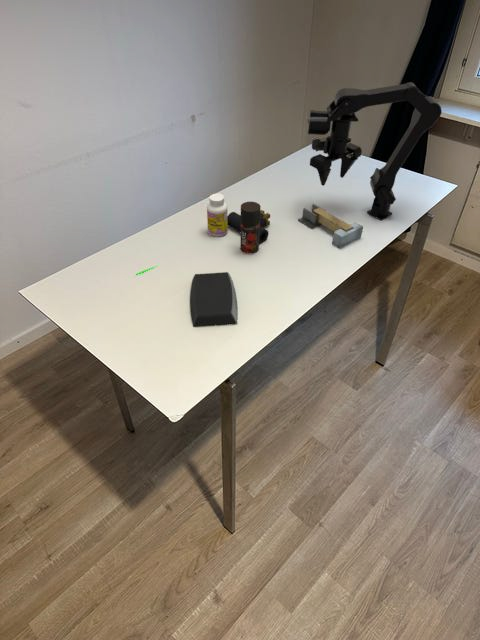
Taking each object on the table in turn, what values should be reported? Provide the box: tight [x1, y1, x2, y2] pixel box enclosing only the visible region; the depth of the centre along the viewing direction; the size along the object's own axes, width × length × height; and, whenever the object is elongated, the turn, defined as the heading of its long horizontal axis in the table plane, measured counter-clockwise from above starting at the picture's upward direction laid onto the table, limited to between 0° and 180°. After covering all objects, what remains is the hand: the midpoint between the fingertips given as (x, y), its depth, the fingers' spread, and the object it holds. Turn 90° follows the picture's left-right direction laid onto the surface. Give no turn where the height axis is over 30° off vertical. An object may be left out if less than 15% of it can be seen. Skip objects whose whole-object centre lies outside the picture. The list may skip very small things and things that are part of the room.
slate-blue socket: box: [331, 221, 364, 250], centre depth 143 cm, size 10×4×4 cm, turn 128°
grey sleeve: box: [297, 203, 326, 230], centre depth 152 cm, size 8×7×4 cm
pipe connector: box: [227, 209, 271, 245], centre depth 148 cm, size 12×5×15 cm
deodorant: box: [239, 201, 261, 255], centre depth 137 cm, size 6×6×15 cm
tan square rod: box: [313, 207, 353, 233], centre depth 147 cm, size 3×15×3 cm, turn 38°
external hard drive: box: [189, 271, 239, 328], centre depth 123 cm, size 13×19×4 cm
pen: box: [136, 265, 158, 276], centre depth 133 cm, size 1×14×1 cm, turn 128°
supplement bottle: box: [206, 193, 229, 238], centre depth 144 cm, size 7×7×13 cm
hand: (332, 181), depth 149 cm, fingers open, 9 cm apart
